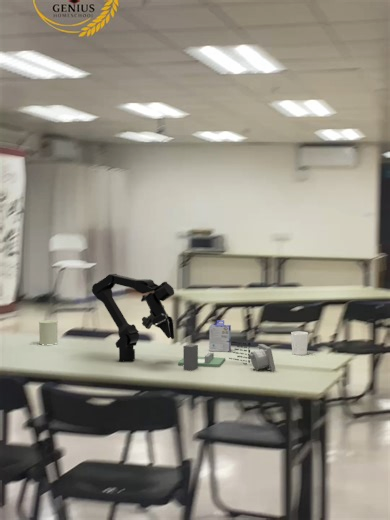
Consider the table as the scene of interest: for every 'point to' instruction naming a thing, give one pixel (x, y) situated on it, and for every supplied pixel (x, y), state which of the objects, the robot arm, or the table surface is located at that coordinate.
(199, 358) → the board
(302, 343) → the white cup
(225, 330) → the ink cartridge box
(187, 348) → the grey square pillar
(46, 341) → the can
